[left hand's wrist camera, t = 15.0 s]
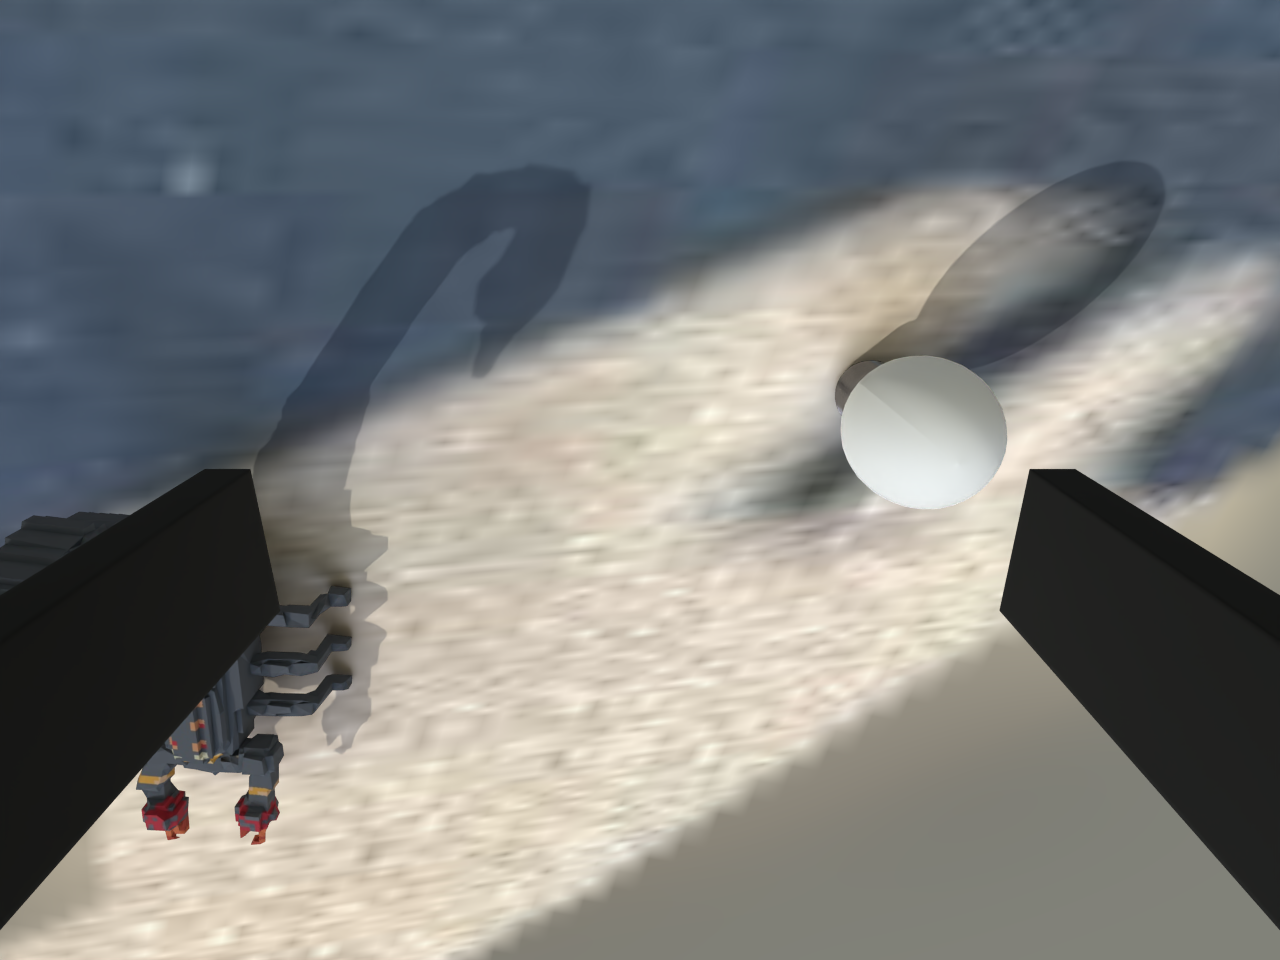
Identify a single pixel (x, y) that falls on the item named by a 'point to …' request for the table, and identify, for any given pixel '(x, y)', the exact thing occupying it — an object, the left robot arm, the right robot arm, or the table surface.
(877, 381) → the light bulb
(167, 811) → the toy
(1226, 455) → the table surface
